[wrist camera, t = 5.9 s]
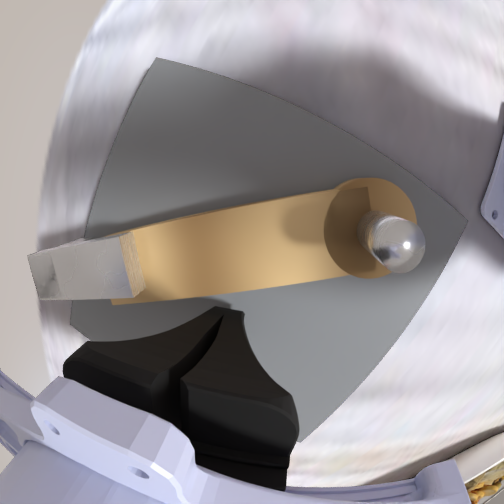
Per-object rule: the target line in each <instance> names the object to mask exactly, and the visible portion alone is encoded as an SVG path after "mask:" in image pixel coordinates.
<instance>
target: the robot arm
mask: <svg viewBox="0 0 504 504" xmlns="http://www.w3.org/2000/svg"><path fill="white" fill-rule="evenodd" d="M492 212H493V213H494V215H493V217H492ZM481 214H482V216H483V217H484V218H485V219H486V220H487V221H488V222H489V223H490V225H491V226H492V227H493V228H494V229H495V230H496V231H497V232H498V233H499V234H500V235H501V237H502V238H503V239H504V135H503V139H502V143H501V147H500V150H499V154H498V157H497V161H496V164H495V167H494V171H493V174H492V177H491V180H490V182H489V185H488V188H487V191H486V194H485V196H484V199H483V201H482V204H481ZM244 317H245V314H244V312H243V311H239V310H234V309H229V308H223V307H218V306H214V307H213V308H211V309H209V310H208V311H206V312H204V313H203V314H201V315H199V316H197V317H196V318H194V319H192V320H190V321H188V322H186V323H184V324H182V325H180V326H178V327H175V328H173V329H170V330H168V331H165V332H162V333H159V334H155V335H151V336H147V337H142V338H138V339H132V340H123V341H87V342H86V343H84V344H83V345H82V346H81V347H80V348H79V349H78V350H76V351H75V352H74V353H73V354H72V355H71V356H70V357H69V358H67V359H66V361H65V362H64V364H63V375H64V378H63V377H60V376H58V377H57V378H56V379H55V380H54V381H52V382H51V383H50V384H49V385H48V386H47V387H46V388H45V389H44V390H43V391H42V392H41V393H40V394H39V395H38V396H37V397H36V398H35V397H34V396H32V395H31V394H30V393H28V392H27V391H25V390H24V389H23V388H21V387H20V386H19V385H18V384H16V383H15V382H14V381H13V380H11V379H10V378H9V377H7V376H6V375H5V374H4V373H3V372H2V371H1V370H0V443H1V444H2V445H3V446H4V447H5V448H6V449H7V450H8V451H9V452H10V453H11V454H12V455H13V456H14V458H13V459H12V461H11V462H10V463H9V464H8V466H6V468H5V469H4V470H3V472H2V473H1V474H0V504H471V501H470V498H469V495H468V492H467V490H466V487H465V484H464V482H463V479H462V476H461V474H460V471H459V469H458V466H457V464H456V461H455V459H451V460H447V461H444V462H440V463H436V464H432V465H429V466H427V467H425V468H424V469H423V470H421V471H420V472H419V473H418V474H417V475H416V477H415V478H413V479H407V480H402V481H396V482H390V483H383V484H374V485H365V486H352V487H323V488H319V487H290V486H286V479H287V469H288V467H289V462H290V454H291V452H292V450H293V448H294V446H295V444H296V441H297V439H298V436H299V431H300V428H299V419H298V414H297V410H296V406H295V403H294V400H293V397H292V395H291V394H290V393H289V392H288V391H286V390H285V389H284V388H282V387H281V386H280V385H279V384H277V383H276V382H275V381H274V380H273V379H272V378H271V377H270V376H269V375H268V373H267V372H266V371H265V370H264V368H263V367H262V366H261V364H260V363H259V361H258V359H257V358H256V356H255V354H254V352H253V350H252V348H251V346H250V343H249V340H248V337H247V334H246V330H245V325H244Z"/></svg>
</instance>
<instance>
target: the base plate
mask: <svg viewBox="0 0 504 504" xmlns="http://www.w3.org/2000/svg"><path fill="white" fill-rule="evenodd" d="M355 178H380V179H384V180H387V181H389V182H392V183H393V184H395V185H397V186H398V187H399V188H400V189H401V190H402V191H403V192H404V193H405V194H406V195H407V197H408V198H409V199H410V201H411V203H412V205H413V208H414V210H415V214H416V219H417V225H418V226H419V228H420V229H421V230H422V232H423V234H424V237H425V252H424V255H423V257H422V260H421V261H420V263H419V264H418V265H417V266H416V267H415V268H414V269H412V270H411V271H409V272H406V273H394V272H391V273H389V274H388V275H385V276H383V277H379V278H373V279H364V278H358V277H355V276H352V275H347V276H341V277H335V278H329V279H323V280H317V281H311V282H304V283H298V284H291V285H285V286H278V287H271V288H264V289H257V290H249V291H242V292H234V293H226V294H218V295H210V296H201V297H193V298H184V299H174V300H165V301H155V302H144V303H133V304H121V305H112V302H111V299H86V300H73V301H72V309H71V318H70V325H72V326H73V327H74V328H75V329H77V330H78V331H79V332H81V333H82V334H83V335H84V336H86V337H87V338H89V339H90V340H91V341H123V340H132V339H138V338H142V337H147V336H151V335H155V334H159V333H162V332H165V331H168V330H170V329H173V328H175V327H178V326H180V325H182V324H184V323H186V322H188V321H190V320H192V319H194V318H196V317H197V316H199V315H201V314H203V313H204V312H206V311H208V310H209V309H211V308H213V307H214V306H218V307H223V308H229V309H234V310H239V311H243V312H244V314H245V317H244V325H245V330H246V334H247V337H248V340H249V343H250V346H251V348H252V350H253V352H254V354H255V356H256V358H257V359H258V361H259V363H260V364H261V366H262V367H263V368H264V370H265V371H266V372H267V373H268V375H269V376H270V377H271V378H272V379H273V380H274V381H275V382H276V383H277V384H279V385H280V386H281V387H282V388H284V389H285V390H286V391H288V392H289V393H290V394H291V395H292V397H293V400H294V403H295V406H296V410H297V414H298V419H299V428H300V431H299V436H298V439H297V442H302V441H303V440H304V439H305V438H306V437H307V436H308V435H310V434H311V433H312V432H313V431H314V430H315V429H316V428H317V427H319V426H320V425H321V424H322V423H323V422H324V421H325V420H326V419H327V418H328V417H329V416H330V415H331V414H332V413H333V412H334V411H335V410H336V409H337V408H338V407H339V406H340V405H341V404H342V403H343V402H344V401H345V400H346V399H347V398H348V397H349V396H350V395H351V394H352V393H353V392H354V391H355V390H356V389H357V388H358V387H359V385H360V384H361V383H362V382H363V381H364V380H365V379H366V378H367V376H368V375H369V374H370V373H371V372H372V371H373V370H374V368H375V367H376V366H377V365H378V364H379V362H380V361H381V360H382V359H383V357H384V356H385V355H386V354H387V352H388V351H389V350H390V349H391V347H392V346H393V345H394V344H395V342H396V341H397V340H398V338H399V337H400V336H401V334H402V333H403V331H404V330H405V329H406V327H407V326H408V325H409V323H410V322H411V320H412V319H413V317H414V316H415V314H416V313H417V312H418V310H419V309H420V307H421V305H422V304H423V302H424V301H425V299H426V298H427V296H428V295H429V293H430V291H431V290H432V288H433V286H434V285H435V283H436V281H437V280H438V278H439V276H440V275H441V273H442V271H443V269H444V268H445V266H446V264H447V262H448V260H449V258H450V257H451V255H452V253H453V251H454V249H455V247H456V245H457V243H458V241H459V239H460V237H461V235H462V233H463V231H464V228H465V226H466V224H467V222H468V220H467V219H466V218H465V217H464V216H462V215H461V214H460V213H459V212H458V211H457V210H456V209H455V208H453V207H452V206H451V205H450V204H449V203H448V202H446V201H445V200H444V199H443V198H442V197H440V196H439V195H438V194H437V193H435V192H434V191H433V190H432V189H430V188H429V187H428V186H427V185H425V184H424V183H423V182H421V181H420V180H419V179H417V178H416V177H415V176H413V175H412V174H411V173H409V172H408V171H407V170H405V169H404V168H402V167H401V166H400V165H398V164H397V163H395V162H394V161H392V160H391V159H389V158H388V157H386V156H385V155H383V154H382V153H380V152H379V151H377V150H376V149H374V148H372V147H371V146H369V145H368V144H366V143H364V142H363V141H361V140H359V139H358V138H356V137H354V136H353V135H351V134H349V133H348V132H346V131H344V130H342V129H341V128H339V127H337V126H335V125H333V124H331V123H330V122H328V121H326V120H324V119H322V118H320V117H318V116H316V115H314V114H312V113H310V112H308V111H306V110H304V109H302V108H300V107H298V106H296V105H294V104H292V103H289V102H287V101H285V100H283V99H281V98H278V97H276V96H274V95H271V94H269V93H267V92H264V91H262V90H259V89H257V88H254V87H252V86H249V85H246V84H244V83H241V82H238V81H236V80H233V79H230V78H227V77H224V76H221V75H218V74H215V73H212V72H209V71H206V70H203V69H199V68H196V67H192V66H189V65H185V64H182V63H178V62H174V61H170V60H166V59H161V58H157V57H156V59H155V60H154V62H153V64H152V65H151V67H150V69H149V71H148V72H147V74H146V76H145V78H144V80H143V82H142V83H141V85H140V87H139V89H138V91H137V93H136V95H135V97H134V99H133V101H132V103H131V105H130V107H129V109H128V112H127V114H126V116H125V118H124V120H123V123H122V125H121V127H120V129H119V132H118V134H117V137H116V139H115V141H114V144H113V146H112V149H111V152H110V154H109V157H108V159H107V162H106V165H105V168H104V171H103V173H102V176H101V179H100V182H99V185H98V189H97V192H96V195H95V198H94V202H93V205H92V209H91V212H90V216H89V220H88V223H87V227H86V231H85V235H84V239H86V238H91V237H95V239H97V238H101V237H104V236H107V235H110V234H113V233H117V232H121V231H125V230H129V229H133V228H137V227H141V226H145V225H149V224H153V223H158V222H162V221H166V220H171V219H175V218H179V217H184V216H189V215H193V214H198V213H203V212H207V211H212V210H217V209H222V208H227V207H232V206H237V205H242V204H248V203H253V202H258V201H264V200H269V199H275V198H281V197H287V196H293V195H299V194H305V193H311V192H318V191H324V190H331V189H334V188H335V187H336V186H338V185H339V184H341V183H343V182H345V181H347V180H350V179H355Z"/></svg>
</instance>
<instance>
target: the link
mask: <svg viewBox="0 0 504 504" xmlns="http://www.w3.org/2000/svg"><path fill="white" fill-rule="evenodd" d="M374 210H378V211H382V212H385V213H388V214H391V215H394V216H397V217H400V218H403V219H405V220H408V221H411V222H413V223H415V224H416V225H417V219H416V214H415V210H414V208H413V205H412V203H411V201H410V199H409V198H408V197H407V195H406V194H405V193H404V192H403V191H402V190H401V189H400V188H399V187H398V186H397V185H395V184H393V183H392V182H389V181H387V180H384V179H380V178H355V179H350V180H347V181H345V182H343V183H341V184H339V185H338V186H336V187H335V188H334V189H331V190H324V191H318V192H311V193H305V194H299V195H293V196H287V197H281V198H275V199H269V200H264V201H258V202H253V203H248V204H242V205H237V206H232V207H227V208H222V209H217V210H212V211H207V212H203V213H198V214H193V215H189V216H184V217H179V218H175V219H171V220H166V221H162V222H158V223H153V224H149V225H145V226H141V227H137V228H133V229H129V230H125V231H121V232H117V233H113V234H110V235H107V236H112V235H117V234H122V233H128V232H133V234H134V239H135V243H136V248H137V252H138V257H139V261H140V265H141V270H142V274H143V278H144V281H145V285H146V288H145V289H144V290H143V291H141V292H140V293H139V294H138V295H136V296H135V297H134V298H116V299H111V302H112V305H121V304H133V303H144V302H155V301H165V300H174V299H184V298H193V297H201V296H210V295H218V294H226V293H234V292H242V291H249V290H257V289H264V288H271V287H278V286H285V285H291V284H298V283H304V282H311V281H317V280H323V279H329V278H335V277H341V276H347V275H352V276H355V277H358V278H364V279H373V278H379V277H383V276H385V275H388V274H389V273H391V271H390V270H388V269H387V268H386V267H385V266H384V265H383V264H382V263H380V262H379V261H378V260H377V259H376V258H375V257H374V256H373V255H372V254H371V253H369V252H368V251H367V250H366V249H365V248H364V247H363V246H362V245H361V244H360V242H359V240H358V238H357V225H358V223H359V221H360V219H361V218H362V216H364V215H365V214H366V213H368V212H370V211H374ZM107 236H104V237H107ZM101 238H102V237H101Z"/></svg>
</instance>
